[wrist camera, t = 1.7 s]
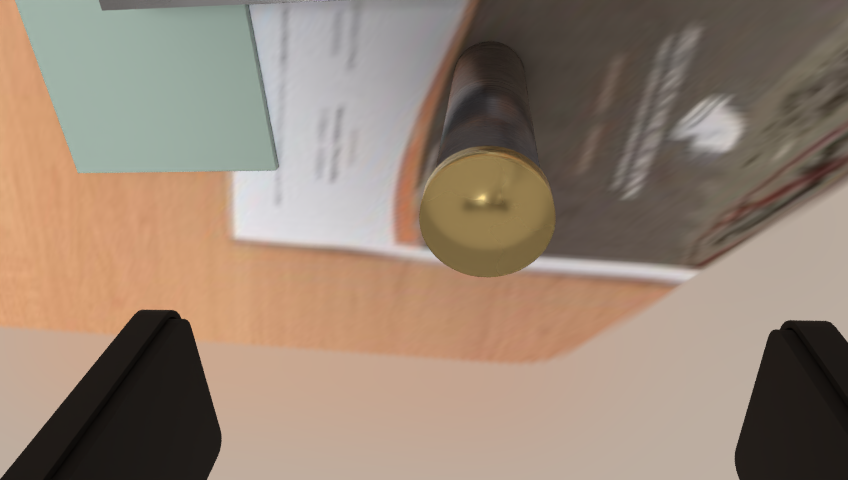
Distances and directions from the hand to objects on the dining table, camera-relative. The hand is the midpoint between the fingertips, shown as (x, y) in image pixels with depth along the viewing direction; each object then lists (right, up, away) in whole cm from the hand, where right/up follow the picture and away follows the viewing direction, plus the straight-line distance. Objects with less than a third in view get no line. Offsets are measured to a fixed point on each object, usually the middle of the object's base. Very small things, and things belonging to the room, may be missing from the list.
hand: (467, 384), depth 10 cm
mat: (-13, +10, +17) cm, 24 cm away
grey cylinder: (+2, +9, +16) cm, 19 cm away
